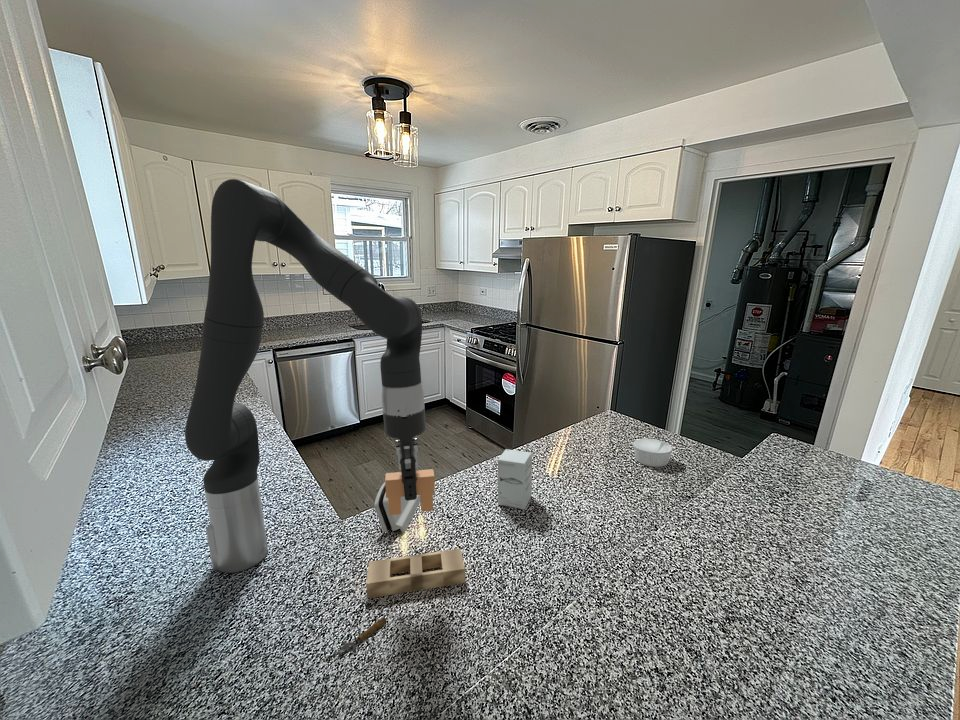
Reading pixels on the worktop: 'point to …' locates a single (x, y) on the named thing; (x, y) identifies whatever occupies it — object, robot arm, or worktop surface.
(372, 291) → the robot arm
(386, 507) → the grey piece
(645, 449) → the ramekin
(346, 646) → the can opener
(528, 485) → the supplement box
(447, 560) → the rail
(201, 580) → the worktop surface
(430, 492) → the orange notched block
